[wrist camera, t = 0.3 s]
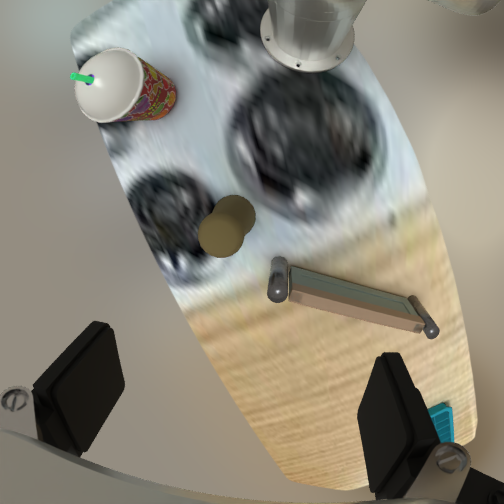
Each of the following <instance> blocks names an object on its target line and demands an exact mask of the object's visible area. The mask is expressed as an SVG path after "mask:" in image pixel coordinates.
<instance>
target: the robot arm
mask: <svg viewBox="0 0 504 504" xmlns="http://www.w3.org/2000/svg"><path fill="white" fill-rule="evenodd" d="M428 1H431V2H433V3H436V4H438V5H440V6H442V7H445V8H447V9H449V10H452V11H455V12H457V13H461V14H465V15H481V14H484V13H486V12H488V11H490V10H491V9H493V8H494V7H495V6H496V5H497V4H498V3H499V2H500V1H501V0H428ZM365 2H366V0H268V6H269V8H268V9H267V11H266V12H265V13H264V16H263V18H262V21H261V26H260V33H261V39H262V42H263V44H264V47H265V48H266V50H267V52H268V53H269V54H270V55H271V56H272V57H273V59H274V60H276V61H277V62H278V63H280V64H281V65H283V66H285V67H287V68H289V69H291V70H294V71H298V72H303V73H320V72H325V71H328V70H331V69H333V68H335V67H336V66H338V65H340V64H341V63H342V62H343V61H344V60H345V59H346V58H347V56H348V55H349V54H350V52H351V50H352V48H353V44H354V29H353V23H354V21H355V20H356V18H357V16H358V14H359V13H360V11H361V9H362V7H363V6H364V4H365ZM267 39H270V41H266V40H267ZM336 57H338V58H339V60H337V59H336ZM297 64H298V65H300V67H296V65H297ZM33 387H34V389H33V390H32V391H30V390H29V389H28V388H26V387H23V386H13V387H9V388H8V389H6V390H4V391H3V392H2V393H1V395H0V504H504V483H503V482H500V481H498V480H496V479H494V478H492V477H490V476H488V475H485V474H483V473H481V472H479V471H477V470H475V469H473V468H471V467H470V466H471V457H470V455H469V453H468V451H467V450H466V449H465V448H464V447H463V446H461V445H460V444H458V443H454V442H444V443H441V441H440V439H439V436H438V434H437V431H436V429H435V426H434V424H433V421H432V419H431V417H430V414H429V412H428V409H427V407H426V405H425V402H424V400H423V398H422V395H421V393H420V391H419V390H418V389H417V388H415V386H414V384H413V381H412V379H411V377H410V375H409V372H408V370H407V368H406V366H405V364H404V361H403V359H402V357H401V355H400V353H398V352H384V353H382V355H381V356H378V357H377V358H376V360H375V363H374V367H373V370H372V373H371V376H370V378H369V381H368V384H367V387H366V390H365V393H364V395H363V398H362V401H361V403H360V406H359V409H358V413H357V419H358V424H359V430H360V435H361V440H362V446H363V451H364V457H365V463H366V469H367V475H368V481H369V488H370V491H371V492H372V493H374V492H375V497H376V500H373V501H360V502H340V503H292V502H272V501H259V500H249V499H240V498H232V497H225V496H218V495H212V494H206V493H201V492H195V491H190V490H185V489H181V488H176V487H172V486H167V485H163V484H159V483H155V482H152V481H148V480H144V479H141V478H137V477H134V476H131V475H127V474H124V473H121V472H118V471H115V470H112V469H109V468H106V467H103V466H101V465H98V464H95V463H93V462H90V461H87V460H85V459H82V458H80V456H81V455H82V453H83V452H86V451H88V449H89V447H90V446H91V444H92V442H93V441H94V439H95V437H96V436H97V434H98V432H99V430H100V429H101V427H102V425H103V424H104V422H105V420H106V419H107V417H108V415H109V414H110V412H111V410H112V409H113V407H114V406H115V404H116V402H117V401H118V399H119V397H120V396H121V394H122V392H123V390H124V387H125V381H124V377H123V373H122V369H121V364H120V359H119V355H118V350H117V345H116V340H115V335H114V331H113V329H112V328H110V326H109V324H107V323H103V322H99V321H93V322H92V323H91V324H90V325H89V326H88V327H87V328H86V329H85V330H84V331H83V332H82V333H81V334H80V335H79V336H78V337H77V338H76V339H75V340H74V341H73V342H72V343H71V344H70V345H69V346H68V347H67V348H66V350H65V351H64V352H63V353H62V354H61V355H60V356H59V357H58V358H57V359H56V360H55V361H54V362H53V363H52V364H51V365H50V366H49V368H48V369H47V370H46V371H45V372H44V373H43V374H42V375H41V376H40V377H39V378H38V380H37V381H36V382H35V383H34V384H33ZM382 499H387V500H382Z"/></svg>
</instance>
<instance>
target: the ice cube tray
mask: <svg viewBox="0 0 504 504" xmlns="http://www.w3.org/2000/svg"><path fill="white" fill-rule="evenodd" d="M428 412H429V414H430V417H431V419H432V421H433V424H434V426H435V429H436V431H437V434H438V436H439V439H440V441H441V443H444V442H454V427H453V413H452V407H447V406H446V405H445V404H444V403H441V404H439V405H437V406H434V407H432V408H430V409H428Z"/></svg>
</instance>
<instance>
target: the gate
mask: <svg viewBox="0 0 504 504" xmlns="http://www.w3.org/2000/svg"><path fill="white" fill-rule="evenodd" d="M289 301H290V302H294V303H297V304H301V305H305V306H309V307H313V308H316V309H320V310H324V311H328V312H332V313H336V314H340V315H344V316H348V317H352V318H356V319H360V320H364V321H368V322H372V323H376V324H380V325H384V326H388V327H393V328H397V329H401V330H406V331H410V332H414V333H419V334H420V333H421V331H422V329H423V327H424V326H425V323H424V321H423V320H422V318H421V317H420V316H418V314H417V313H416V311H415V310H414V308H413V307H412V305H411V304H410V302H409V301H408V300H407V298H404V297H400V296H396V295H393V294H389V293H386V292H382V291H378V290H375V289H371V288H368V287H364V286H361V285H357V284H353V283H350V282H346V281H343V280H339V279H336V278H332V277H329V276H325V275H321V274H318V273H314V272H311V271H307V270H304V269H300V268H297V267H293V266H291V269H290V272H289Z"/></svg>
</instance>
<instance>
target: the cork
mask: <svg viewBox="0 0 504 504" xmlns="http://www.w3.org/2000/svg"><path fill="white" fill-rule="evenodd" d="M255 220H256V218H255V210H254V207H253V206H252V204H251V203H250V202H249V201H248V200H247V199H245V198H244V197H241V196H238V195H229V196H226V197H223V198H222V199H221V200H219V201H218V203H217V204H216V206H215V207H214V210H213V212H212V213H211V214H210V215H208V216H207V217H206V218H204V219H203V221H202V223H201V224H200V226H199V230H198V240H199V242H200V245H201V247H202V248H203V249H204V251H205V252H207V253H208V254H209V255H211V256H214V257H217V258H225V257H228V256H231V255H233V254H234V253H236V252H237V251H238V250H239V249H240V247H241V246H242V244H243V240H244V236H245V235H246V234H247V233H248V232H249V231H250V230H251V229H252V227H253V226H254V223H255Z"/></svg>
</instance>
